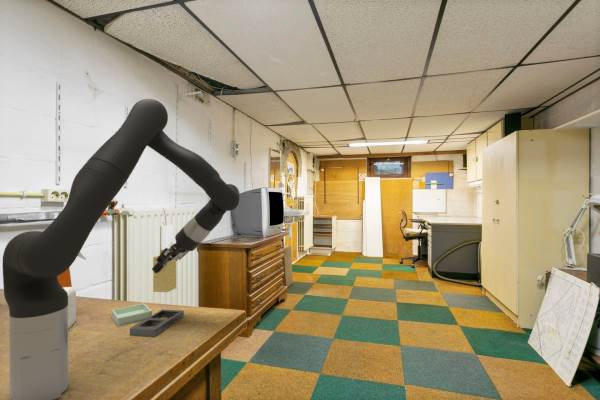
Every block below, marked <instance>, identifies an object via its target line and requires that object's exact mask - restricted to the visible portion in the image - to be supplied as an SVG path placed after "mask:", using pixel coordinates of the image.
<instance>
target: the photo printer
mask: <svg viewBox="0 0 600 400" xmlns="http://www.w3.org/2000/svg"><path fill="white" fill-rule="evenodd" d="M63 289H64V290H65V291H66V292H67V294H68V329H70V328H71V327H72V326H73V325H74V323H75V322H76V320H77V292H76V289H75V288H74V287H73V286H72V287H63Z"/></svg>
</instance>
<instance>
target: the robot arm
mask: <svg viewBox="0 0 600 400" xmlns="http://www.w3.org/2000/svg"><path fill="white" fill-rule="evenodd" d="M168 119H169V115H168V111H167V109H166V106H165V105H164V104H163V103H161V102H160V100H157V99H153V98H145V99H144V98H143V99H140V100H138V101H137V102H135V104H134V105H133V106H132V108H131V109H130V110H129V112H128V114H127V116H126V119H125V120H124V121H123V123H122V125H120V127H119V128H118V130H117V131H116V132H115V133H114V134H113V135H112V136H110V137H109V138H108V139H107V140H106V141H105V142H104V143H103V144H102V145H101V146H100V147H99V148H98V149H97V150H96V151H95V153H94V154H92V155H91V157H89V159H88V160H86V162H85V163H84V165H82V167H81V168H80V170H78V172H77V173H76V175H75V176H74V178H73V181H72V184H71V187H70V190H69V191H70V192H69V194H68V198H67V201H66V204H65V206H64V207H63V208H62V210H61V211H60V213H59V214H58V215H57V216H56V218H54V220H53V221H52V222H51V223H50V224H49V225H48V226H47V227H46V228H45V229H44V230H41V231H40V230H39V231H38V230H30V231H25V232H22V233H19V234H17V235H15V236H14V237H13V238H11V239H10V240H9V241H8V243H7V244H6V246H5V248H4V250H3V255H2V280H3V281H2V282H3V283H2V284H3V293H4V295H3V297H4V300H5V302H6V303H7V306H8V313H9V314H8V317H9V318H8V320H9V322H8V323H9V324H8V325H9V331H8V338H9V339H8V340H9V341H8V343H9V345H8V348H9V351H8V353H9V357H8V359H9V366H8V367H9V368H8V369H9V400H57V399H60V398H61V397H62V395H63V393H64V392H65V391H66V390H67V389H68V387H69V328H68V294H67V292H66V291H65V290H64V289H63V288H62V286H61V285H60V283H59V281H58V278H57V276H58V275H60V274H62V273H63V272H65V271H66V270H67V269H68V268H70V267H71V266H72V265H73V263H74V262H75V261H76V259H77V258H78V257H79V256H78V254H79V252H80V253H81V250H82V248H83V247H84V245H85V243H86V241H87V240H88V238H89V236H90V234H91V232H92V230H93V229H94V227H95V226H96V224H97V222H98V221H99V220H100V219H101V217H102V216H103V214H104V213H105V211H106V210H107V209H108V207H109V206H110V204H111V203H112V202H113V200H114V199H115V197H116V196H117V195H118V193H119V192H120V191H121V190H122V188H123V187H124V185H125V183H127V181H128V180H129V178H130V176H131V174H132V173H133V171H134V170H135V168H136V166H137V164H138V162H139V160H140V158H141V157H142V154H144V151H145V149H146V148H147V147H149V148H150V149H152V150H153V151H154V152H156V153H157V154H159V155H161V157H163V158H165V159H166V160H167V161H169V162H170V163H172V164H173V165H175V166H176V167H177V168H178V169H179V170H181V172H183V173H184V174H185V175H187V177H188V178H189V179H191V180H192V181H193V182H194V183H195V184H196V185H197V186H199V187H200V188H201V189H202V190H203V191H204V193H205V194H206V195H207V196H208V197H209V201H208V202H207V203H206V204H205V205H204V206H203V207H202V208H201V209H200V210H199V211H198V212H197V213H196V214H195V215H194V216H193V217H192V218H191V219H190V220H188V221H187V222H186V224H184V226H183V227H182V228H181V229H180V230H179V231H178V232H177V233H176V234H175V236H174V239H175V243H172V245H170V247H169V248H168V247H165V248H164V249H162V250H163V252H162V253H161V254H160V253H159V255H158V256H159V257H158V258H157V259H156V261H157V262H158V263H157V264H156V265H155V266H154V267H152V268H151V270H152V272H153V271H154V272H155V273H158V272H159V271H160V270H161V269H162V268H163V267H164V266H165V265H166V264H167V263H168V262H169V261H173V260H174V259H175V258H176V263H177V262H178V261H180V260H182V259H183V258H184V257H185V256H186V255H187V254H188V253H189V252H193V251H195V249H197V248H198V247H199V246H200V245H201V244H202V243H203V241H205V239H206V238H207V237H208V236H209V235H210V233H211V232H212V231H213V230H214V229H215V228H216V227H217V226H218V224H219V223H220V222H221V220H222V219H223V216H224V215H225V213H227V212H230V211H234V210H236V208H237V207H238V206H239V203H240V190H239V188H238V187H237V186H236V185H234V184H231V183H226V182H225V181H224V180H223V179H222V177H221V175H220V174H219V172H218V171H217V169H215V168H214V167H213V166H212V165H211V164H210V163H209V162H208V161H207V160H205V158H204V157H202V156H201V155H199V154H198V153H196V152H195V151H192V150H190V149H187V148H185V147H184V146H181V145H180V144H178V143H176V142H175V141H174V140H173V139H171V138H170V137H169V136H168V135H167V134H166V132H165V131H164V129H165V128H166V126H167V125H168V121H169V120H168ZM170 256H171V257H172V258H170Z"/></svg>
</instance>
